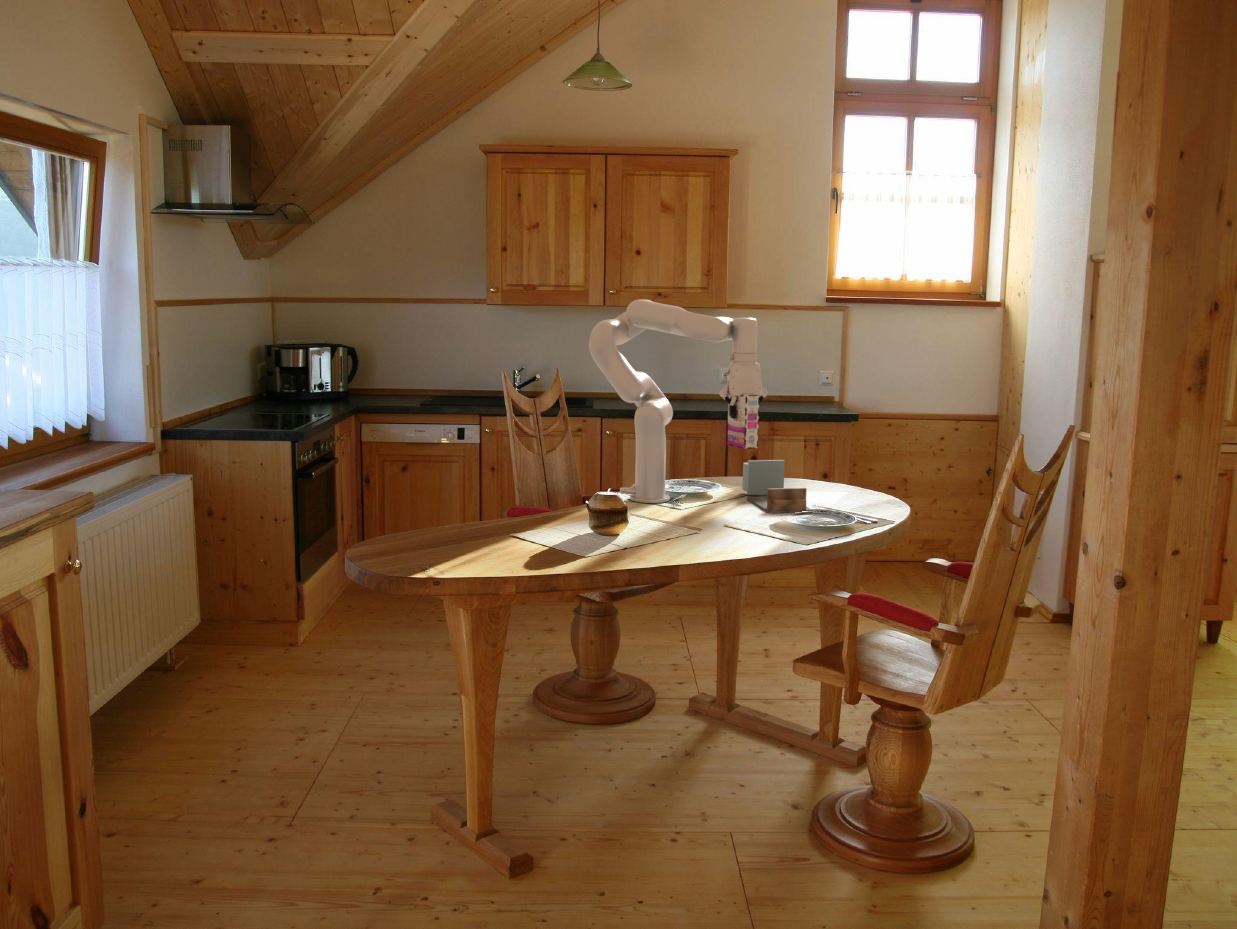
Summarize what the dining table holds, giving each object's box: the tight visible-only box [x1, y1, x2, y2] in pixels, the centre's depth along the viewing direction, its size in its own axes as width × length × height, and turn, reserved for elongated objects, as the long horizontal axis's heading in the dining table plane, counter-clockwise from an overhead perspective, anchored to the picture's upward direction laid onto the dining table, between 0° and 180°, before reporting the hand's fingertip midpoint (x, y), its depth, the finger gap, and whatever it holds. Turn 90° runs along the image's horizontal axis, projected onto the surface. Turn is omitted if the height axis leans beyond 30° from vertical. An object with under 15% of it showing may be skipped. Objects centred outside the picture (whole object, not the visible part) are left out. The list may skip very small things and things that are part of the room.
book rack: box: [746, 487, 814, 515], centre depth 333 cm, size 14×22×7 cm, turn 11°
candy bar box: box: [726, 394, 760, 450], centre depth 328 cm, size 11×5×16 cm, turn 24°
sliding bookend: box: [742, 459, 786, 496], centre depth 349 cm, size 12×9×11 cm
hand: (743, 417), depth 327 cm, fingers closed on candy bar box, 5 cm apart
